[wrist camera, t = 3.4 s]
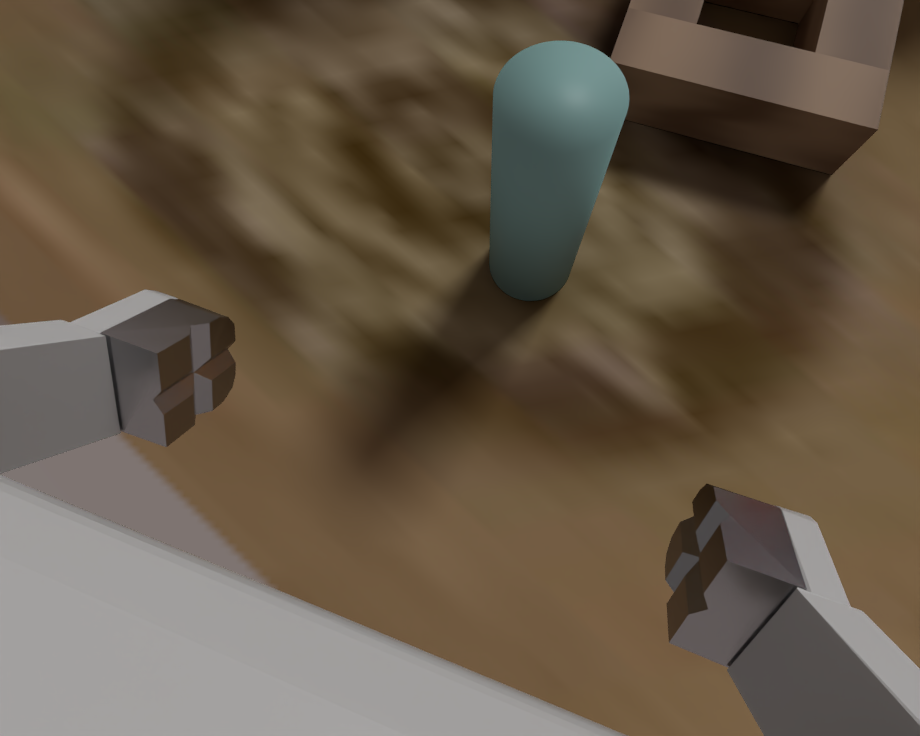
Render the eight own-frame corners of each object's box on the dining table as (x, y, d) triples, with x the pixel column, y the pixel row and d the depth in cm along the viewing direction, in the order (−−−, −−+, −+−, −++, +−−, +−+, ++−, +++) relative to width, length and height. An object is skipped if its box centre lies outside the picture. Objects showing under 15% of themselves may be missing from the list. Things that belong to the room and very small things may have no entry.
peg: (478, 286, 24) (474, 132, 14) (504, 217, 25) (517, 27, 15) (556, 311, 24) (607, 169, 14) (581, 240, 24) (644, 59, 15)
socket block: (595, 111, 26) (609, 61, 23) (654, -57, 29) (674, -122, 26) (831, 174, 25) (877, 129, 22) (872, -9, 27) (918, -71, 24)
